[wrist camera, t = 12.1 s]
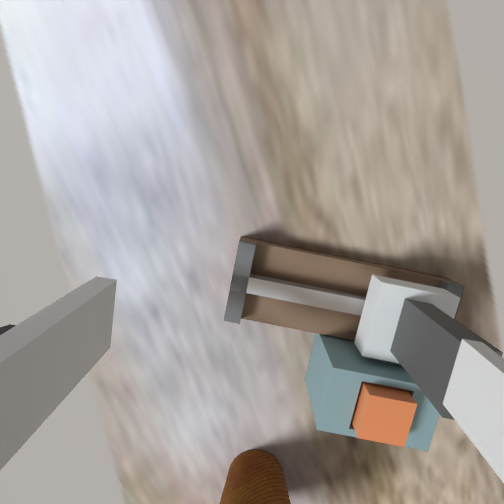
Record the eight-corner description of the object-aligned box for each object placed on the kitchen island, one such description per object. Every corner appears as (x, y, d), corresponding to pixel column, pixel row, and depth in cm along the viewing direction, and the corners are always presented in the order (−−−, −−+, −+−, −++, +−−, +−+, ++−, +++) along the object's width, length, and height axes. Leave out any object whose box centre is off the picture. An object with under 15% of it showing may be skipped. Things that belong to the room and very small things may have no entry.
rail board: (240, 236, 40) (239, 241, 36) (446, 277, 40) (464, 286, 37) (226, 308, 41) (223, 320, 38) (425, 348, 42) (441, 363, 38)
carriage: (372, 274, 36) (433, 323, 24) (444, 288, 36) (544, 345, 24) (354, 342, 38) (403, 424, 25) (423, 356, 38) (508, 444, 25)
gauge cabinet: (317, 328, 42) (332, 367, 33) (412, 347, 42) (453, 391, 33) (304, 381, 43) (316, 433, 34) (397, 399, 43) (433, 455, 34)
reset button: (349, 356, 38) (369, 394, 31) (389, 364, 38) (417, 404, 31) (340, 393, 39) (357, 438, 32) (378, 400, 39) (404, 447, 32)
